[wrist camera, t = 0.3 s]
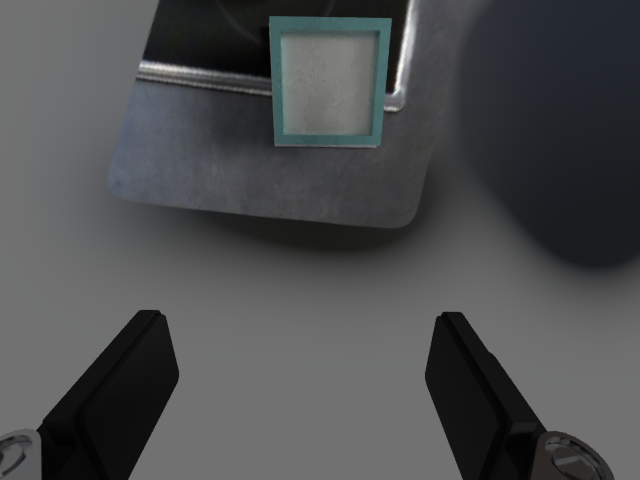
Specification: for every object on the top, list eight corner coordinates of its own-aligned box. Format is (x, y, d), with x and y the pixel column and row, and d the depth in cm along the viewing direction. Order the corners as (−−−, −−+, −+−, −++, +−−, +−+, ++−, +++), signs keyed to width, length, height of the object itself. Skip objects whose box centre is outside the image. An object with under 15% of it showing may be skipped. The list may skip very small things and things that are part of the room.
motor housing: (270, 25, 32) (252, -3, 23) (385, 27, 32) (408, -1, 24) (275, 145, 37) (262, 157, 28) (375, 146, 37) (391, 158, 28)
